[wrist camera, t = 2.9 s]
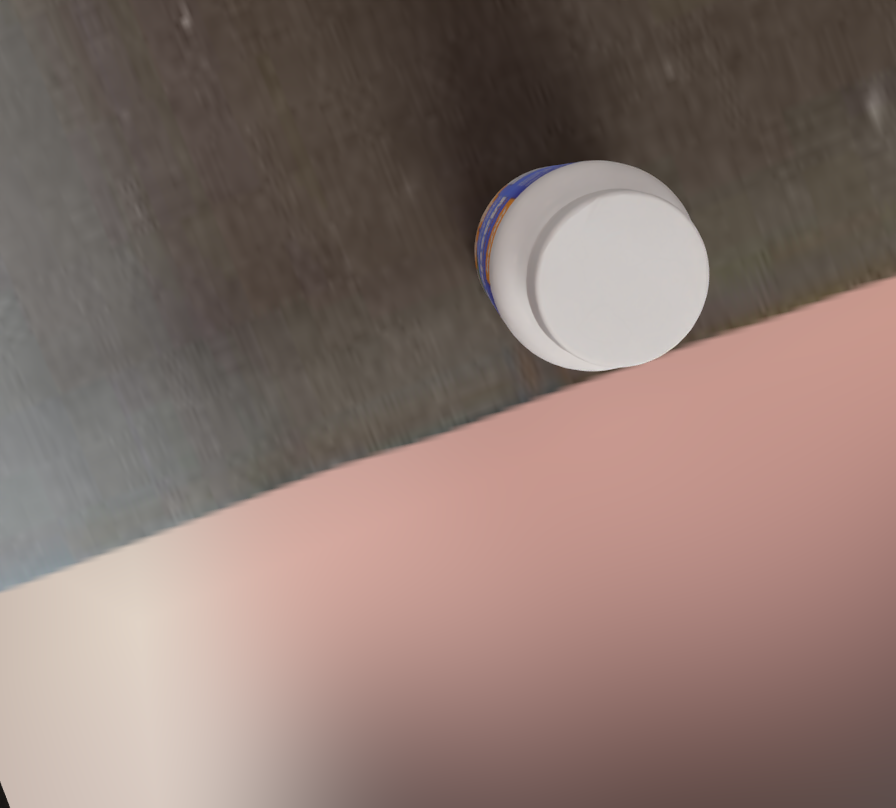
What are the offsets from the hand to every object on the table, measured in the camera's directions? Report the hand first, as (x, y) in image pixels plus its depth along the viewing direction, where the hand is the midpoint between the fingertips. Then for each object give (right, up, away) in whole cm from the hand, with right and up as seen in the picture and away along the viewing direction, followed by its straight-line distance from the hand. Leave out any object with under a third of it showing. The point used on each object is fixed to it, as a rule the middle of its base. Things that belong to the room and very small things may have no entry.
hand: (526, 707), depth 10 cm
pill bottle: (+3, +9, +18) cm, 20 cm away
